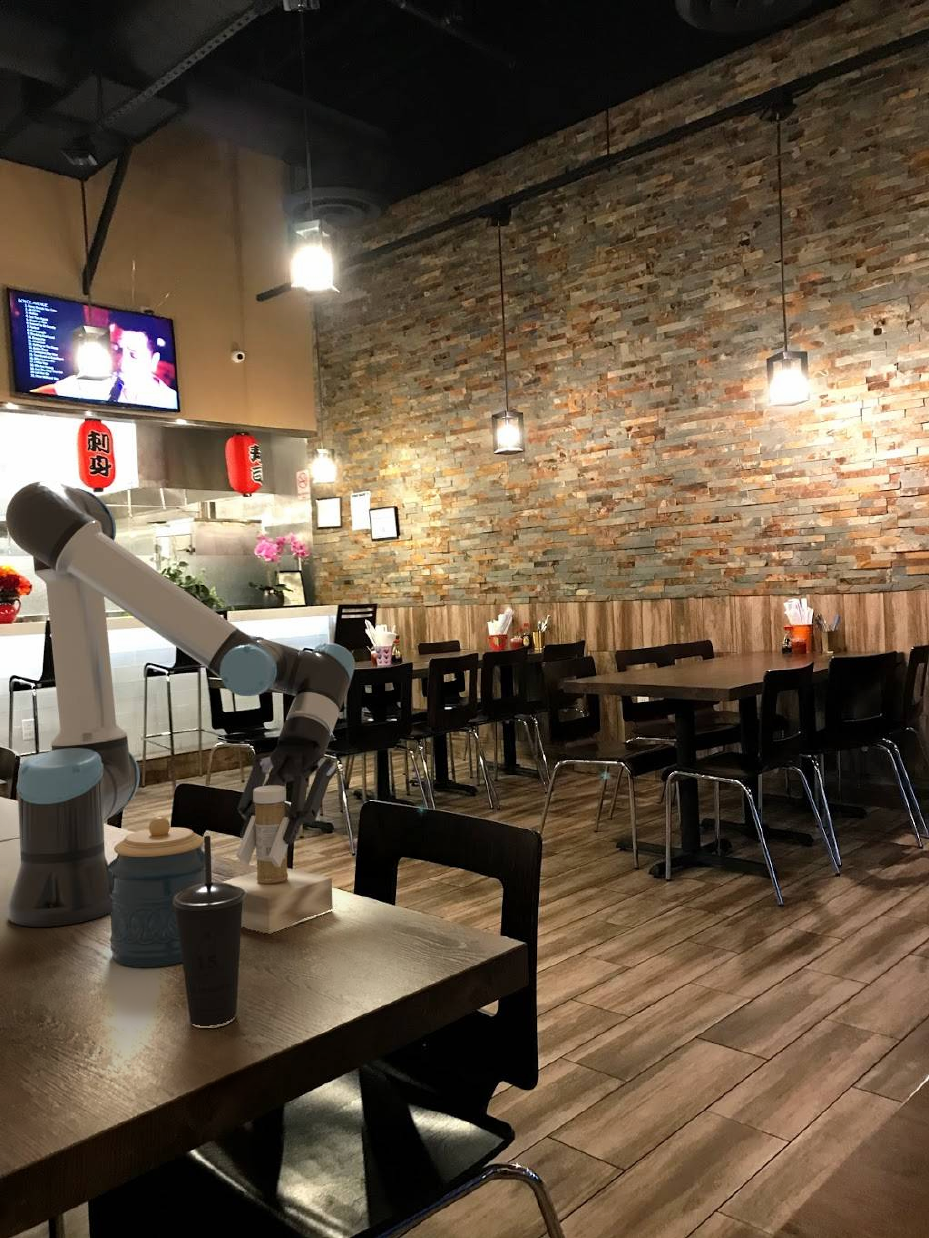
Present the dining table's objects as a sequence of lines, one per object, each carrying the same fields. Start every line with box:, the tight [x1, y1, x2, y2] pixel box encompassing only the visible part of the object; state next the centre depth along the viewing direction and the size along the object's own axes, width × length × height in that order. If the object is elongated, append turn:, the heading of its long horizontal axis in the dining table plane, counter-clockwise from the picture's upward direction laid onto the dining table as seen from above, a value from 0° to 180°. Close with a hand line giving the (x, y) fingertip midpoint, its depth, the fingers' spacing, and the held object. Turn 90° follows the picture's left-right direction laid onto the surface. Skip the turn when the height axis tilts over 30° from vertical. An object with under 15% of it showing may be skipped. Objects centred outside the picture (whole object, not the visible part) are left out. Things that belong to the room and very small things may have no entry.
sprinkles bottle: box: [253, 785, 288, 884], centre depth 143 cm, size 5×5×13 cm
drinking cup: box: [172, 835, 245, 1026], centre depth 107 cm, size 8×8×20 cm
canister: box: [108, 816, 213, 968], centre depth 129 cm, size 13×13×18 cm
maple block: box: [222, 867, 334, 935], centre depth 143 cm, size 12×12×5 cm
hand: (258, 860), depth 139 cm, fingers closed on sprinkles bottle, 4 cm apart
